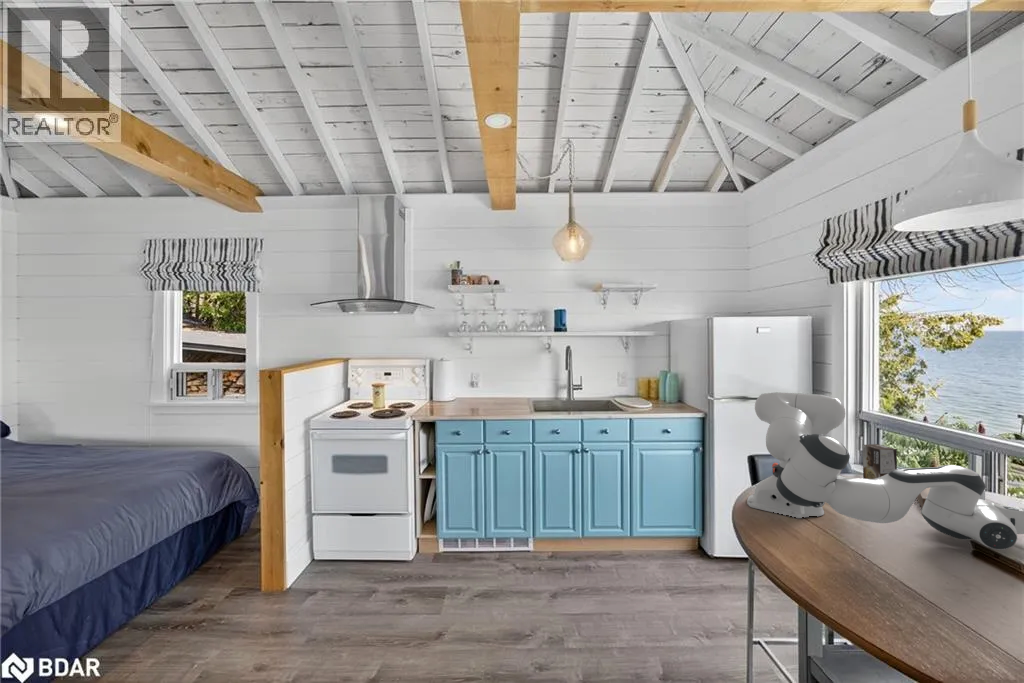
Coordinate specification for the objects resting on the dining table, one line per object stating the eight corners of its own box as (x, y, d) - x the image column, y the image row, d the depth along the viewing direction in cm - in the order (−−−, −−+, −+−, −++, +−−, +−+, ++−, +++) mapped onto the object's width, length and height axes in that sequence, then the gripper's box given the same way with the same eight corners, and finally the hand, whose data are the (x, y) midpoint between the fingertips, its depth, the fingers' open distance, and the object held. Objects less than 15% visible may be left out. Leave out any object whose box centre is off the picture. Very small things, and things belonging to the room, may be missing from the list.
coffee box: (898, 493, 171) (897, 449, 171) (880, 493, 171) (880, 449, 171) (879, 485, 180) (878, 443, 180) (862, 485, 180) (861, 443, 180)
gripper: (932, 519, 137) (924, 505, 148) (1034, 535, 125) (1017, 518, 137) (932, 498, 137) (924, 485, 148) (1033, 512, 125) (1017, 497, 137)
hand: (969, 501), depth 142 cm, fingers open, 7 cm apart
